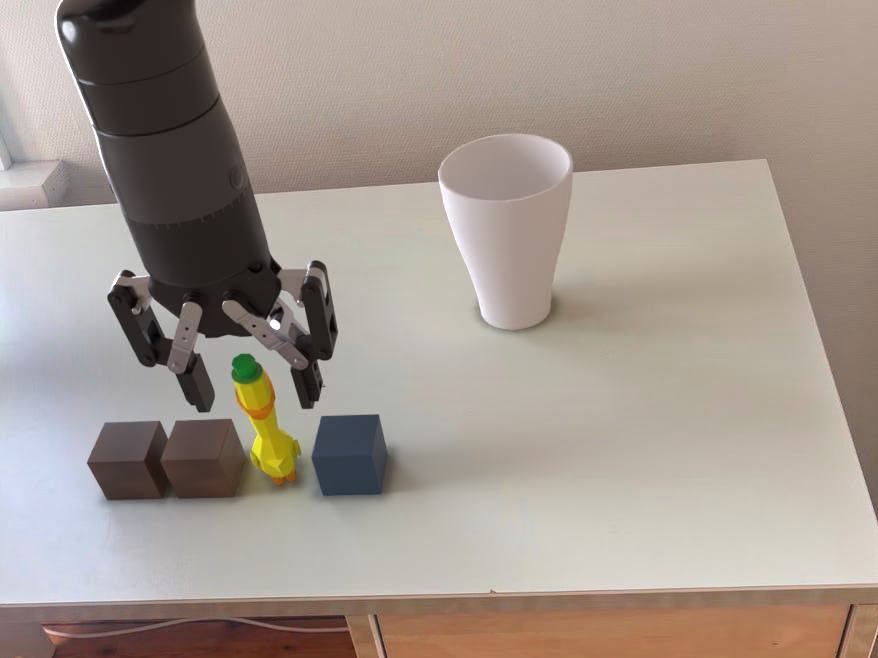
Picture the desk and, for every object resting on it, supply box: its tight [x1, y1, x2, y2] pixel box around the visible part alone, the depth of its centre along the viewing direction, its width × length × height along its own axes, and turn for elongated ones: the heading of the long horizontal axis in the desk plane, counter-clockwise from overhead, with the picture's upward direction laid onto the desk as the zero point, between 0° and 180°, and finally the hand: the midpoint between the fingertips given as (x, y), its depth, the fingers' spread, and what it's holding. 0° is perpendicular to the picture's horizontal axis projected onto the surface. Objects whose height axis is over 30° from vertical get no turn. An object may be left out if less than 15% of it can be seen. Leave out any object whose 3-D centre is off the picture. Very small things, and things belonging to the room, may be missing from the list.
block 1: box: [86, 420, 170, 501], centre depth 74 cm, size 4×4×4 cm
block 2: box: [160, 418, 247, 500], centre depth 73 cm, size 4×4×4 cm
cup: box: [437, 133, 574, 331], centre depth 80 cm, size 10×10×14 cm
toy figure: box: [230, 353, 302, 486], centre depth 70 cm, size 7×4×12 cm, turn 17°
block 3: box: [310, 413, 389, 497], centre depth 72 cm, size 4×4×4 cm
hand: (258, 402), depth 68 cm, fingers open, 7 cm apart
